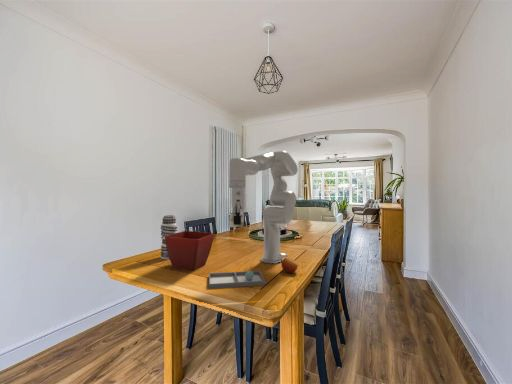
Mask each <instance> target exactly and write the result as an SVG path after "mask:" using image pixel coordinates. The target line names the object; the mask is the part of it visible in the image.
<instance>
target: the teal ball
mask: <svg viewBox="0 0 512 384" xmlns="http://www.w3.org/2000/svg"><path fill="white" fill-rule="evenodd" d="M253 277H254V274H253V272H252V270H247V272H246V273H245V278H246V279H247V280H252V279H253Z"/></svg>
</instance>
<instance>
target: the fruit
mask: <svg viewBox="0 0 512 384" xmlns="http://www.w3.org/2000/svg"><path fill="white" fill-rule="evenodd" d="M298 267H299V265H298V263H297V262H296V260H295V259H293V258H290V257H284V258H282V262H281V269H282V270H283V273H284V272H285V273H289V274H294V273H295V272H296V271H297V269H298ZM293 272H294V273H293Z"/></svg>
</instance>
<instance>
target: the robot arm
mask: <svg viewBox="0 0 512 384" xmlns="http://www.w3.org/2000/svg"><path fill="white" fill-rule="evenodd" d="M228 168H229V171H228V172H229V175H228V177H229V178H228V180H229V181H228V188H229V189H230V190H231V192H230V193H231V194H230V195H231V196H230V198H231V200H230V202H231V209H232V213H234V225H240V224H241V213H242V212H241V210H244V209H245V204H244V203H245V201H244V199H245V198H244V196H245V195H244V189H245V188H246V176H255V175H257V174H258V172H260V171H261V172H262V171H266V170H268V169H270V174H271V176H272V181H273V185H272V189H271V194H270V196H269V203H270V205H271V206H268V207H265V208H264V209H263V211H262V220H263V256H262V257H260V261H261V262H263V263H265V264H272V263H273V264H279V263H278V262H280V263H282V262H281V261H283V259H284V258H289V256H288V254H287V253H281V229H280V227H279V225H289V224H290V223H292V220H293V217H294V211H295V208H296V203H297V196H296V193H295V192H294V191H293V190H288V184H287V181H286V180H285V177H295V175H297V173H298V171H299V170H298V165H297V163H296V162H295V160H294V158H293V157H292V156H291V154H290V153H289V152H288V151H286V150H279V151H278V150H277V151H269V152H266V153H262V154H258V155H254V156H251V157H245V158H241V157H233V158H232V157H231V159H229V167H228Z"/></svg>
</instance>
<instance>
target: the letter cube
mask: <svg viewBox="0 0 512 384" xmlns="http://www.w3.org/2000/svg"><path fill="white" fill-rule="evenodd" d="M244 217H245V213H244V212H241V224H240V225H234V213H233V212H229V219H228V220H229V221H228V223H229V225H228V226H229V228H244V226H245V225H244V224H245V223H244V222H245V220H244V219H245V218H244Z"/></svg>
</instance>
